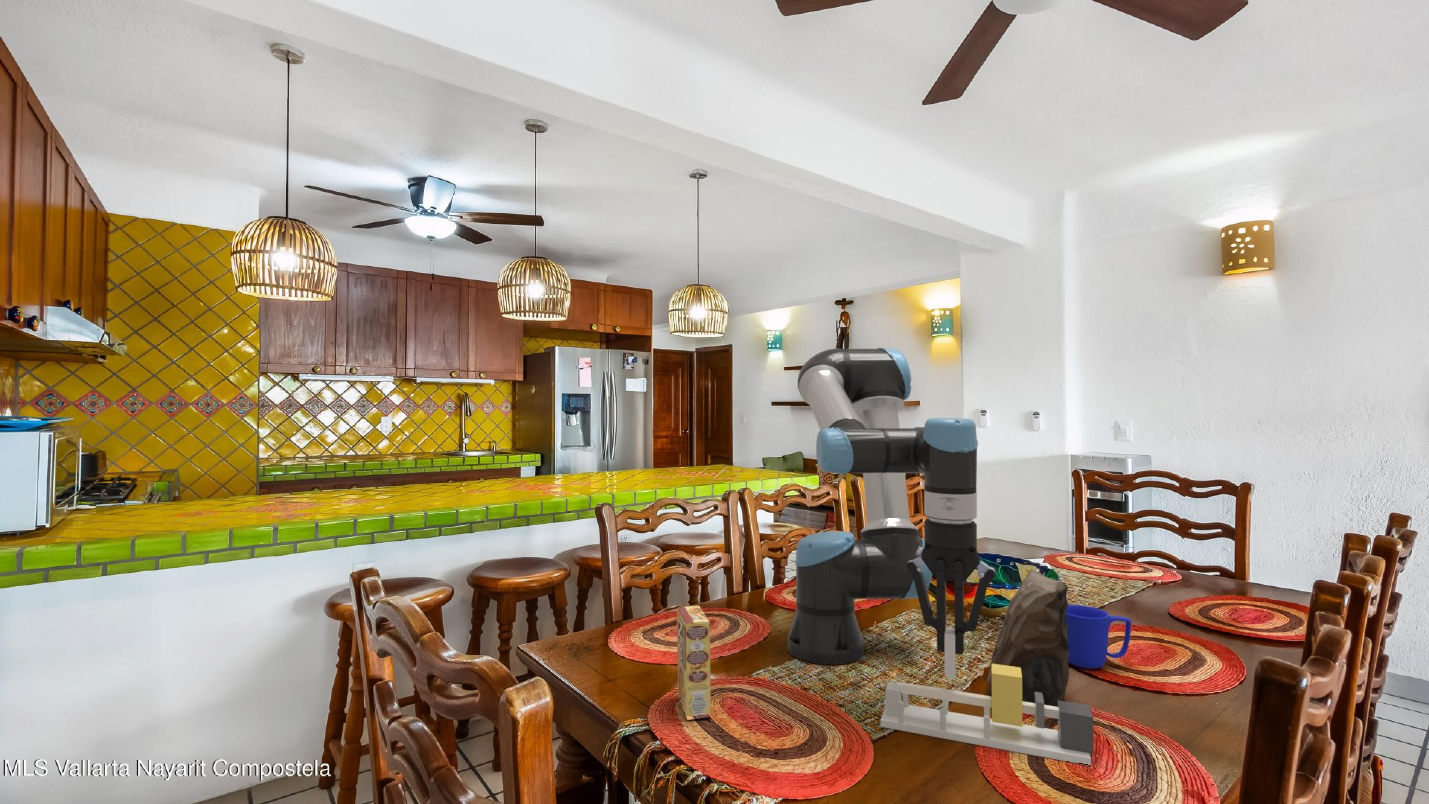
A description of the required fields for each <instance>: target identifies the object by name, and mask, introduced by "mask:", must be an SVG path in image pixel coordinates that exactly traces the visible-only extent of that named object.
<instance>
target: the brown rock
mask: <svg viewBox="0 0 1429 804" xmlns="http://www.w3.org/2000/svg"><path fill="white" fill-rule="evenodd" d="M1068 589H1069V586H1068V585H1067V583H1066V582H1065V581H1063V580H1056V579H1054V578H1050V577H1047V576H1045V575H1042V573H1041V572H1040V571H1038V570H1034V569H1029V571H1028V573H1027V574H1026V576H1025V578H1024V579H1023V580H1022V582H1021V584H1020V586H1019V588H1018V589H1017V591H1016V592H1015V594H1014V595H1013V596H1012V598H1011V599H1010V602H1009V604H1008V608H1007V610H1006V614H1005V617H1004V621H1003V623H1002V626H1001V629H1000V631H999V633H998V636H997V638H996V639H997V640H996V642H995V645H994V649H993V652H992V655H991V661H990V664H989V666H988V667H989V669H988V675H987V679H986V683H987V691H986V695H988V696H990V695H991V696H992V664H999V665H1006V666H1013V667H1020V668H1021V673H1022V701H1023V702H1030V703H1035V692H1039V693H1042V695H1043V700H1044V705H1049V706H1055V707H1058V706H1057V700H1059V701H1066V699H1065V698H1066V697H1065V696H1066V691H1067V687H1068V683H1069V677H1070V670H1069V669H1070V668H1069V667H1070V666H1069V662H1068V657H1069V653H1068V651H1069V649H1070V646H1069V644H1068V636H1069V632H1068V625H1067V623H1066V611H1067V608H1068V605H1069V602H1068V598H1067V594H1068Z"/></svg>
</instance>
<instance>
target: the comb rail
mask: <svg viewBox="0 0 1429 804" xmlns="http://www.w3.org/2000/svg"><path fill="white" fill-rule="evenodd" d="M909 695H911V696H916V697H923V698H929V699H935V700H942V701H941V702H942V707H940V708H939V709H935V708H930V707H924V706H918V705H911V704H909ZM949 702H951V703H952V702H953V703H958V704H959V703H960V704H966V705H972V706H977V707H983V716H977V715H971V714H964V713H959V712H954V711H953V712H952V711H949ZM1057 706H1058V707H1055V706H1049V705H1044V700H1043V695H1042V693H1039V692H1035V703H1030V702H1023V701H1022V714H1026V715H1032V716H1034V720H1035V725H1029V724H1023V727H1019V726H1014V725H1008V724H1002V723H996V722H992V718H991V709H992V695H991V696H990V695H984V694H980V693H979V694H978V693H972V692H966V691H958V690H955V689H954V690H953V689H947V688H941V687H940V688H939V687H934V686H927V685H921V684H916V683H908V682H902V681H896V682H893V681H887V684H886V687H885V706H884V710H883V712H882V714H881V717H880V721H879V722H880V727H881V728H886V729H891V730H897V731H902V732H907V733H913V734H918V735H924V736H929V737H934V738H940V739H944V740H950V741H955V742H961V743H966V744H972V745H977V746H983V747H988V748H993V749H998V750H1004V751H1008V752H1015V753H1021V754H1025V755H1030V756H1035V757H1042V758H1046V759H1053V760H1058V761H1063V762H1067V761H1069V763H1073V764H1078V763H1083V764H1088V765H1087V766H1089V765H1091V766H1092V758H1091V754H1094V715H1093V713H1092V710H1091V707H1090V705H1089V704H1085V703H1084V704H1083V703H1078V702H1072V701H1071V702H1070V701H1066V700H1065V701H1059V700H1057ZM1045 718H1051V719H1056V720H1057V729H1053V728H1047V727H1045ZM1083 764H1082V765H1083Z"/></svg>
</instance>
